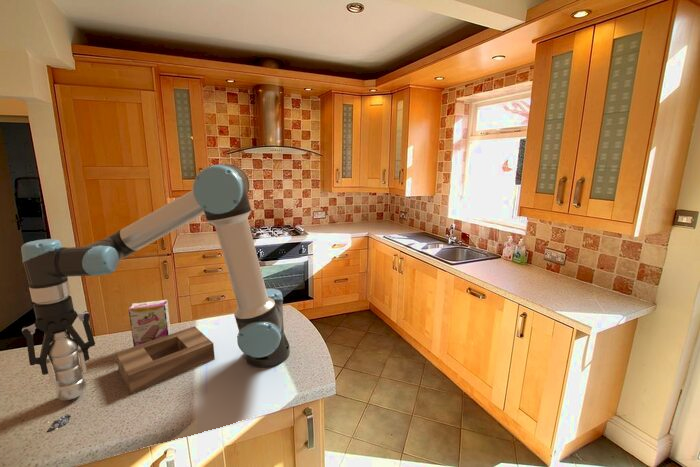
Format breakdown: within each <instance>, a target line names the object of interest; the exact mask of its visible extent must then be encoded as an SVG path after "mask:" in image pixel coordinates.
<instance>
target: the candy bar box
mask: <svg viewBox="0 0 700 467" xmlns="http://www.w3.org/2000/svg"><path fill="white" fill-rule="evenodd" d="M128 315H129V322H130V329H131V337H132V344H133V347H134V346H137V345H140V344H143V343H146V342H149V341H152V340H155V339H158V338H161V337H164V336H167V335H170V334H172V330H171V322H170V312H169V302H168V299H161V300H154V301H146V302H145V301H144V302H134V303H131V304H130V306H129V307H128Z"/></svg>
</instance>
